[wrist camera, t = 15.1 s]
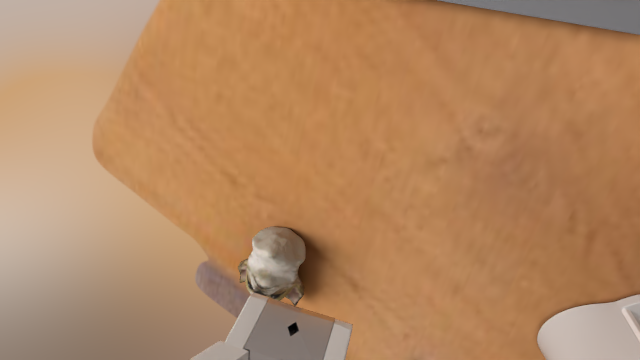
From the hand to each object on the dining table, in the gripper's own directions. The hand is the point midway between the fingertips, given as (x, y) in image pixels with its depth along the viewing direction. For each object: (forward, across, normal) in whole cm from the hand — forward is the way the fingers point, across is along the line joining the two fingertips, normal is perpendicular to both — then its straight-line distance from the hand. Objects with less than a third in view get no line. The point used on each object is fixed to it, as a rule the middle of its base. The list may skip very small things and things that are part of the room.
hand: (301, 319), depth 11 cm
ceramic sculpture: (+30, +10, +31) cm, 45 cm away
